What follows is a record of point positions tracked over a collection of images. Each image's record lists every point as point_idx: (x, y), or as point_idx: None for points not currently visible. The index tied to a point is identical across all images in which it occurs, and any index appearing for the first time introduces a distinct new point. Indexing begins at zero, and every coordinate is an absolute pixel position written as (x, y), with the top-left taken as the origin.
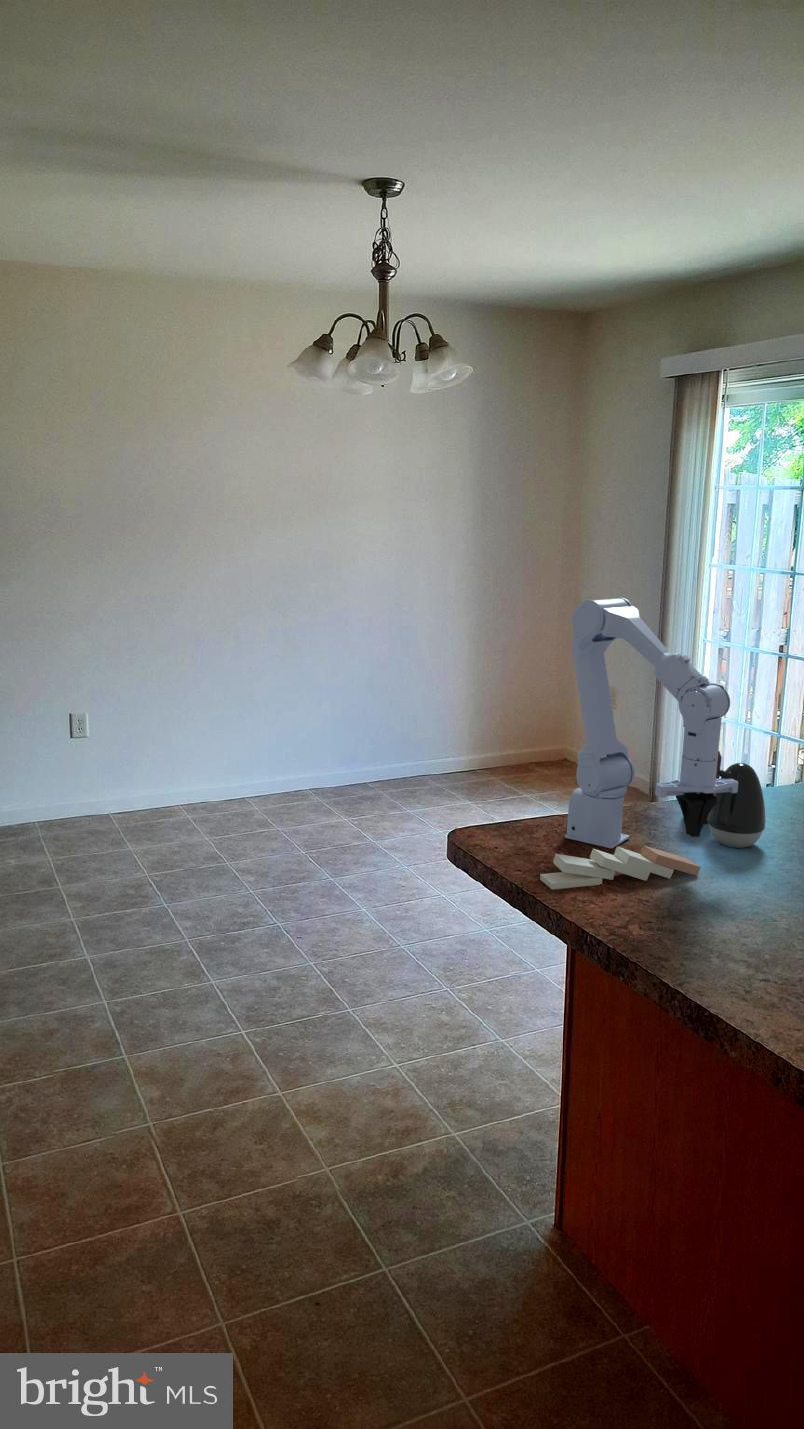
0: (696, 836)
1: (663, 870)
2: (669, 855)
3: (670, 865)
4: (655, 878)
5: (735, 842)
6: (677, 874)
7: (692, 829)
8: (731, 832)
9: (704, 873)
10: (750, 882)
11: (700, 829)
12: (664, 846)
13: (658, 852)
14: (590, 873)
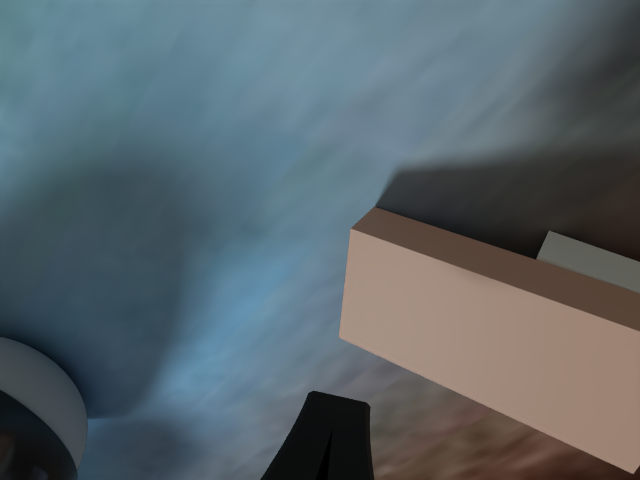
0: (336, 398)
1: (613, 270)
2: (511, 353)
3: (571, 279)
4: None
5: (28, 360)
6: None
7: (369, 462)
8: (18, 401)
9: (314, 216)
10: (145, 20)
11: (303, 437)
12: None
13: (609, 389)
14: None
